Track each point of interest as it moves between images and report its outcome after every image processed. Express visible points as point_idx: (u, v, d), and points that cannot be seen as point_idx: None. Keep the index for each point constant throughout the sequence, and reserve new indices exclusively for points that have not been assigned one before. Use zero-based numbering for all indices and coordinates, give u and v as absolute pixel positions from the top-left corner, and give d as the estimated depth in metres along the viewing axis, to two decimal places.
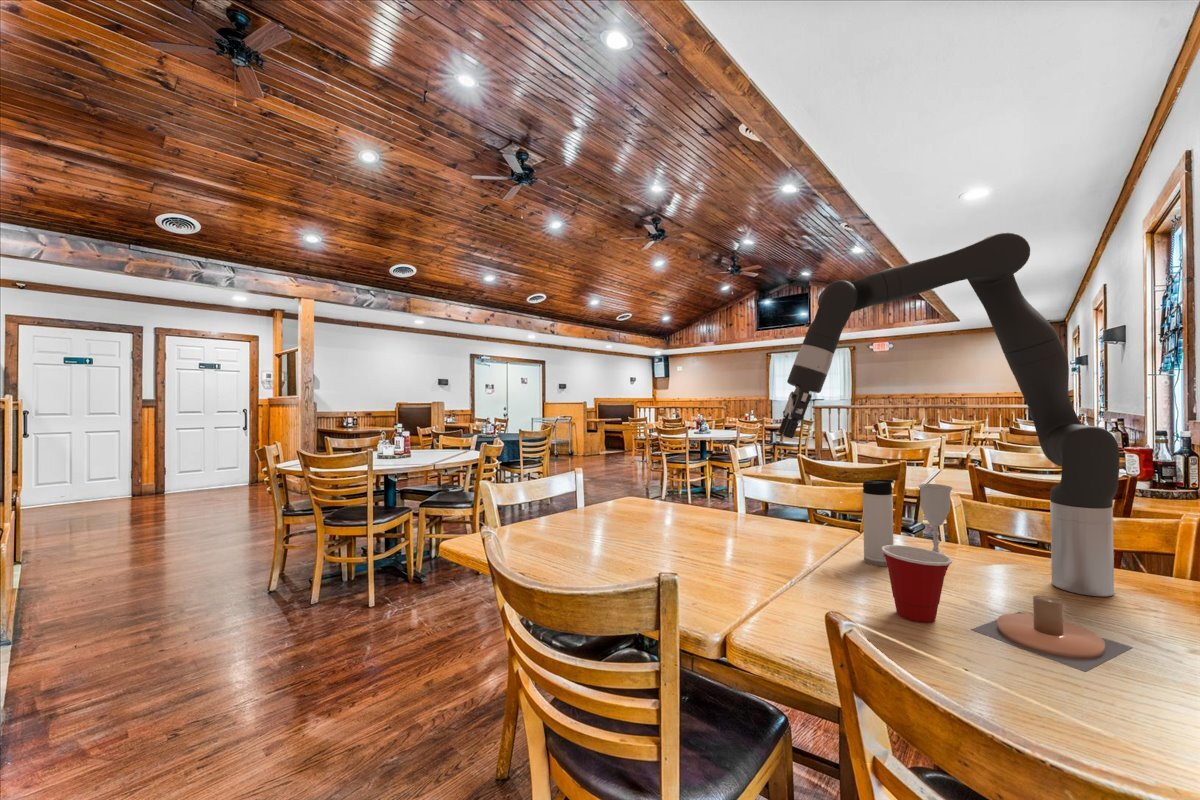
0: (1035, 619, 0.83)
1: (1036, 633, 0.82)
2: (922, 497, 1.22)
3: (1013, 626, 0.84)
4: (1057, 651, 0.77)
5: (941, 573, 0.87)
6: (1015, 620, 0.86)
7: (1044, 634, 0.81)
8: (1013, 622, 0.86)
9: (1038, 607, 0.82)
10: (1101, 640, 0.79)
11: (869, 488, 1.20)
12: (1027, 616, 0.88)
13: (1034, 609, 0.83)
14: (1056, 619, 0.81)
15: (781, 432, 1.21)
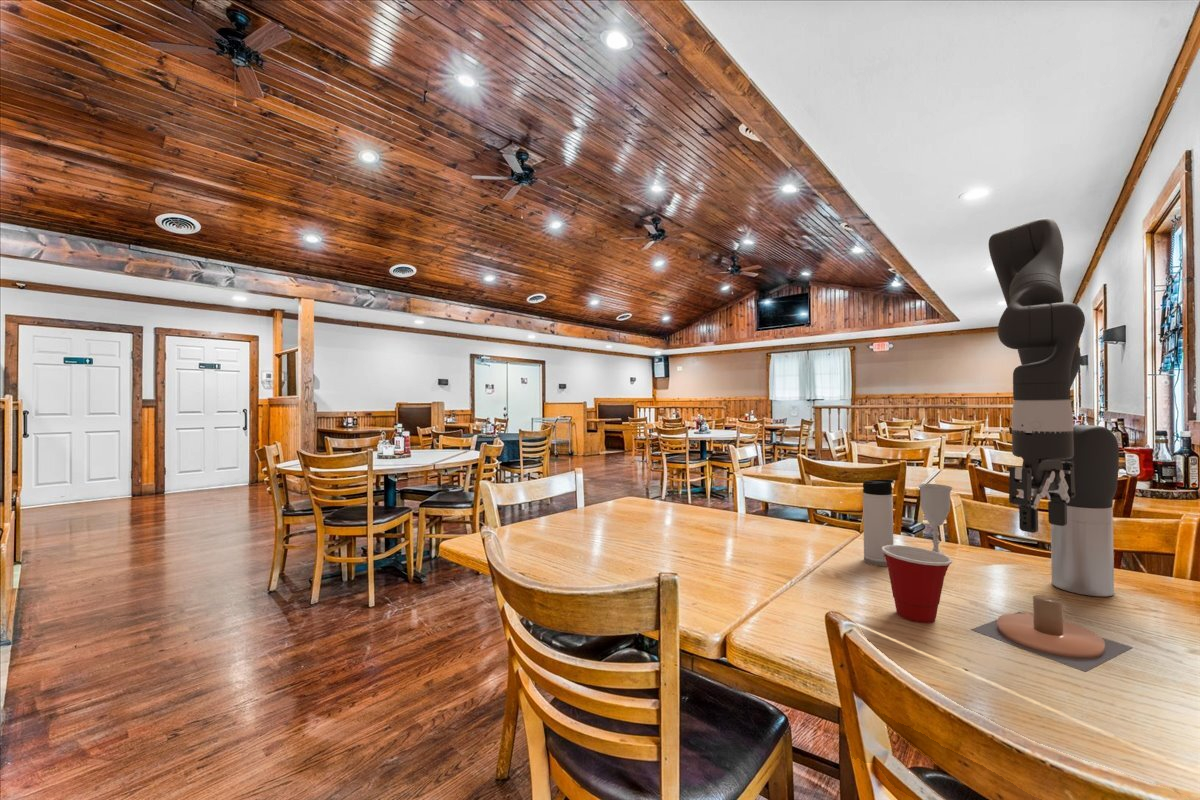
0: (1035, 619, 0.83)
1: (1036, 632, 0.82)
2: (922, 497, 1.22)
3: (1013, 626, 0.84)
4: (1057, 650, 0.77)
5: (941, 573, 0.87)
6: (1015, 620, 0.86)
7: (1044, 634, 0.81)
8: (1013, 622, 0.86)
9: (1038, 607, 0.82)
10: (1101, 640, 0.79)
11: (869, 488, 1.20)
12: (1027, 616, 0.88)
13: (1034, 609, 0.83)
14: (1056, 619, 0.81)
15: None
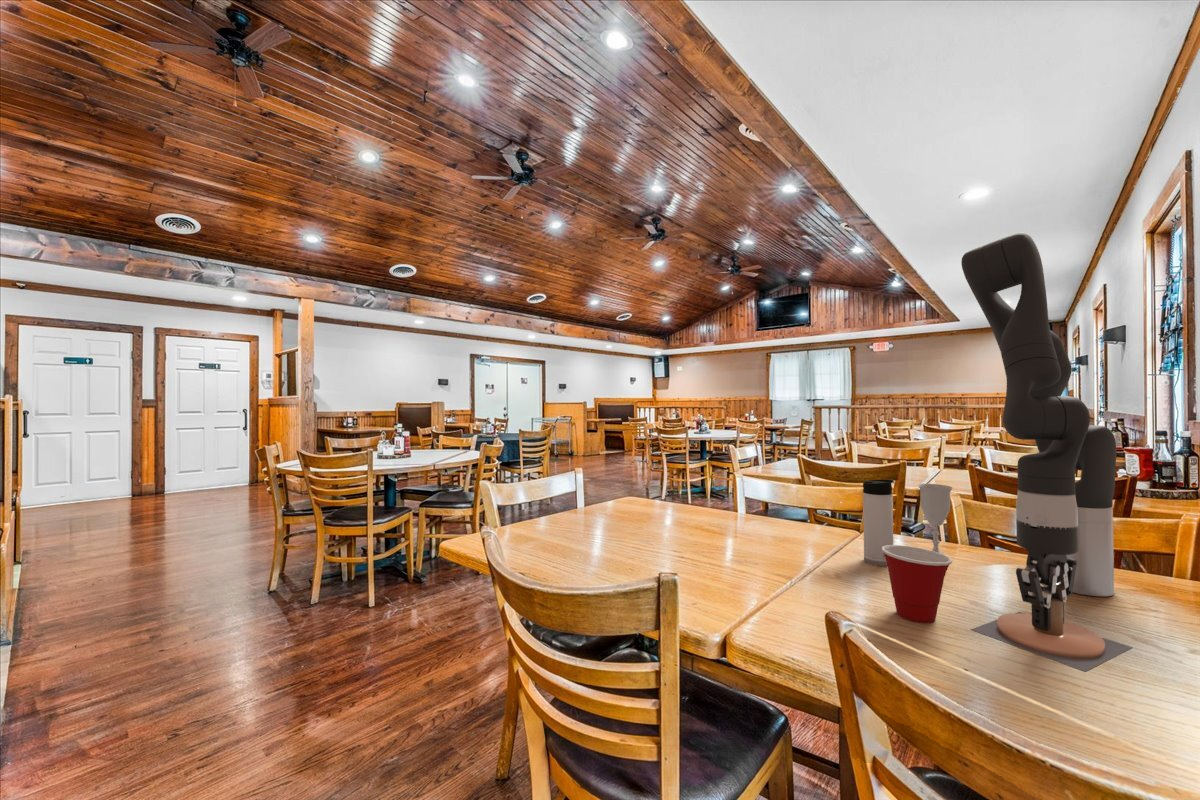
0: None
1: (1037, 632, 0.82)
2: (922, 497, 1.22)
3: (1013, 626, 0.84)
4: (1058, 650, 0.77)
5: (941, 573, 0.87)
6: (1015, 620, 0.86)
7: (1044, 634, 0.81)
8: (1013, 622, 0.86)
9: None
10: (1101, 640, 0.79)
11: (869, 488, 1.20)
12: (1027, 616, 0.88)
13: None
14: (1056, 619, 0.81)
15: None
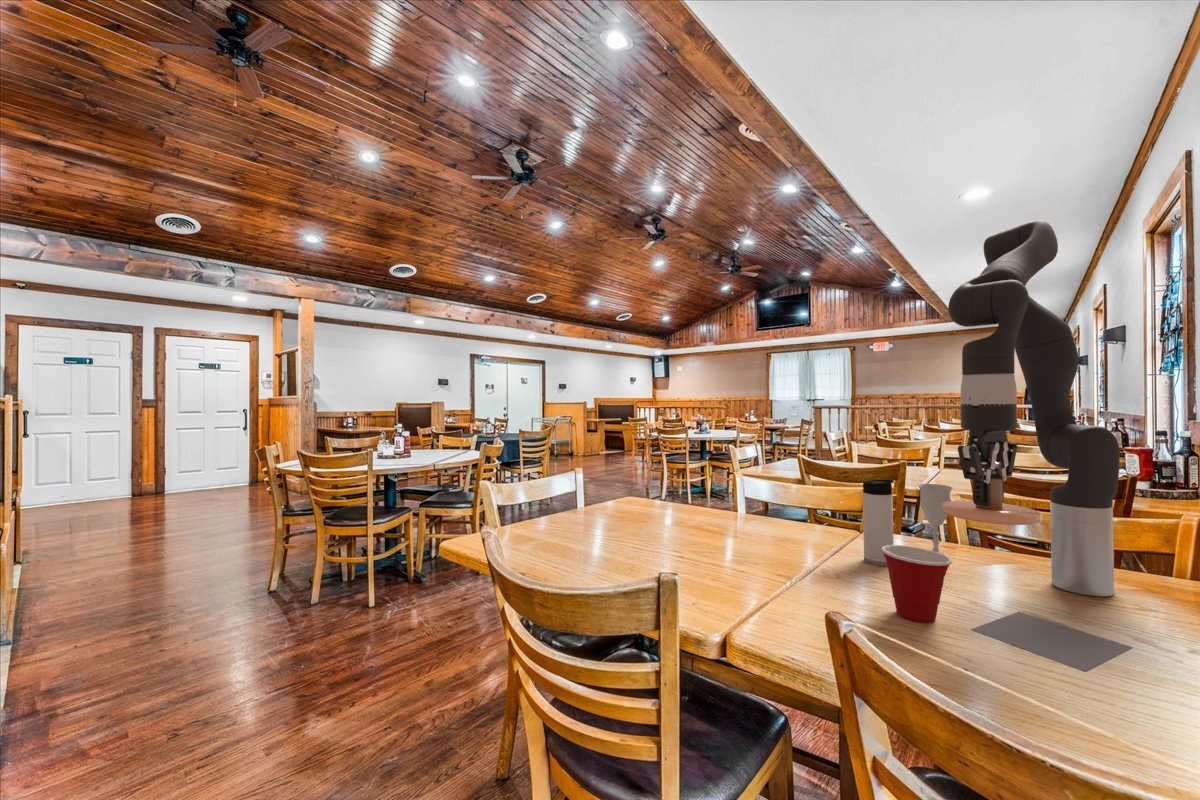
0: None
1: (977, 509, 0.85)
2: (922, 497, 1.22)
3: (956, 506, 0.87)
4: (995, 519, 0.80)
5: (941, 573, 0.87)
6: (959, 503, 0.89)
7: (984, 509, 0.84)
8: (957, 504, 0.89)
9: None
10: (1036, 512, 0.82)
11: (869, 488, 1.20)
12: (971, 501, 0.91)
13: None
14: (996, 495, 0.84)
15: None
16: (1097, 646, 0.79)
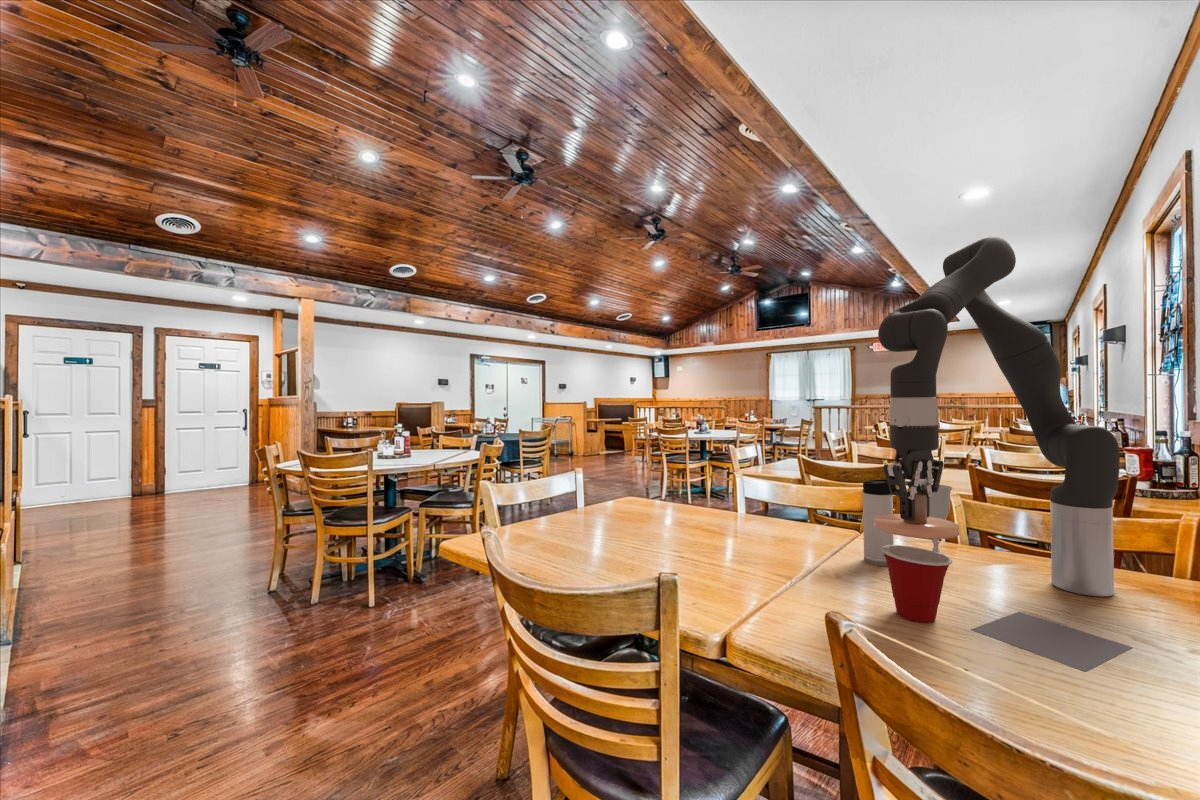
0: None
1: (903, 523, 0.91)
2: None
3: (886, 520, 0.93)
4: (915, 533, 0.86)
5: (941, 573, 0.87)
6: (890, 517, 0.95)
7: (910, 524, 0.90)
8: (888, 518, 0.95)
9: None
10: (956, 526, 0.88)
11: (869, 488, 1.20)
12: None
13: None
14: (920, 510, 0.90)
15: None
16: (1097, 646, 0.79)
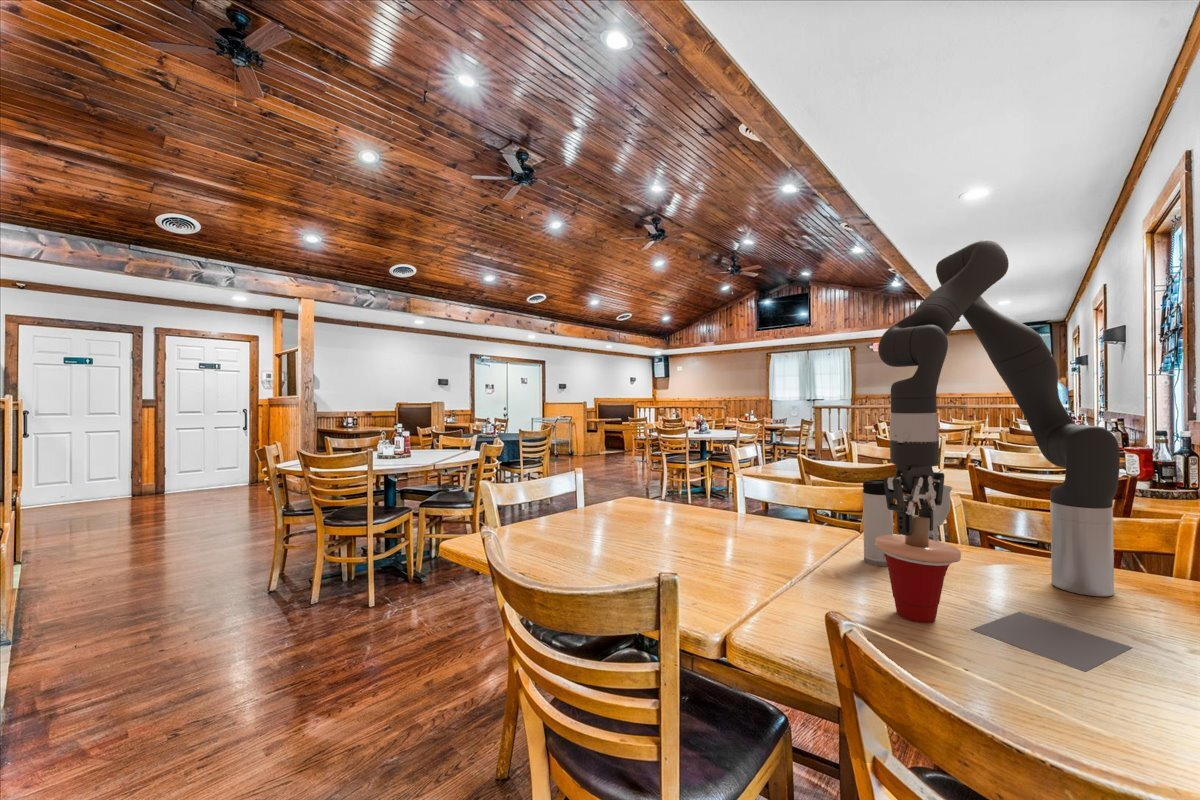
0: None
1: (905, 545, 0.91)
2: None
3: (888, 540, 0.93)
4: (916, 555, 0.86)
5: (941, 573, 0.87)
6: (892, 538, 0.95)
7: (911, 546, 0.90)
8: (890, 539, 0.95)
9: None
10: (958, 551, 0.88)
11: (869, 488, 1.20)
12: (905, 536, 0.97)
13: None
14: (922, 533, 0.90)
15: None
16: (1097, 646, 0.79)
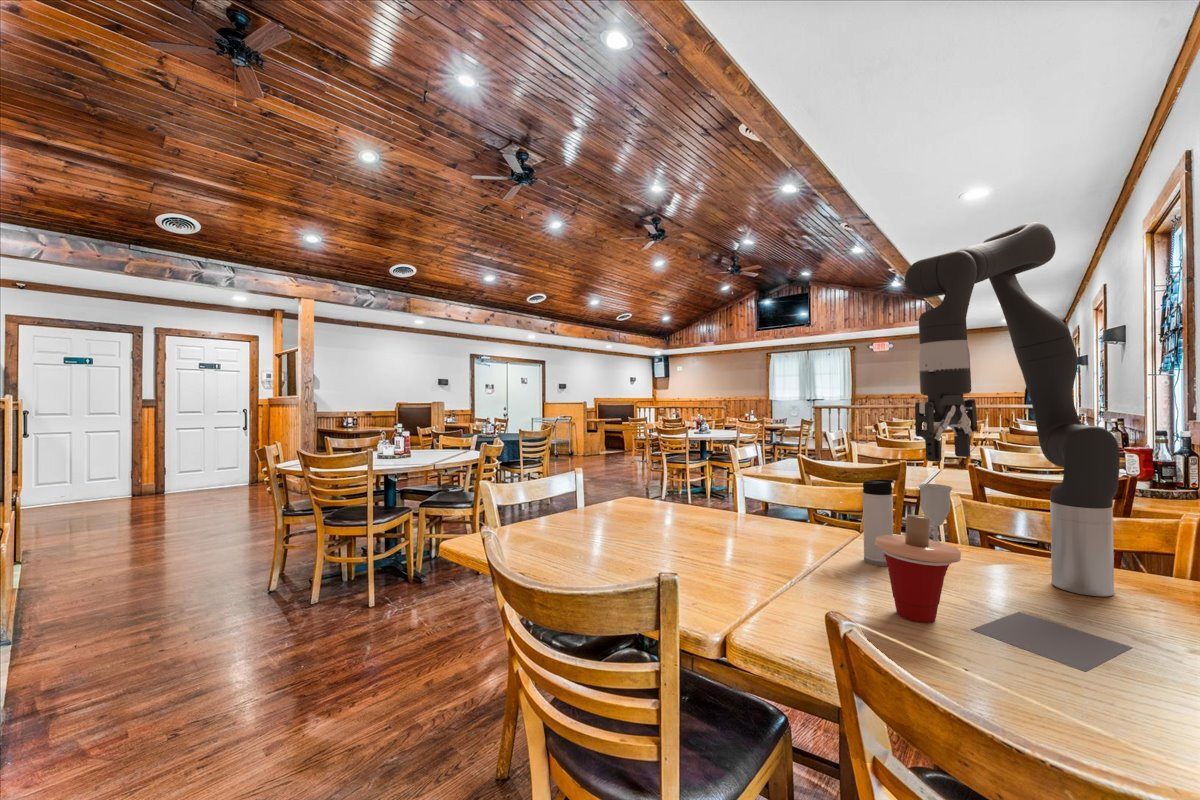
0: (906, 533, 0.92)
1: (905, 545, 0.91)
2: (922, 497, 1.22)
3: (888, 540, 0.93)
4: (917, 555, 0.86)
5: (941, 573, 0.87)
6: (892, 538, 0.95)
7: (911, 546, 0.90)
8: (890, 538, 0.95)
9: (909, 522, 0.91)
10: (958, 552, 0.88)
11: (869, 488, 1.20)
12: (905, 537, 0.97)
13: (906, 525, 0.92)
14: (922, 533, 0.90)
15: None
16: (1097, 646, 0.79)
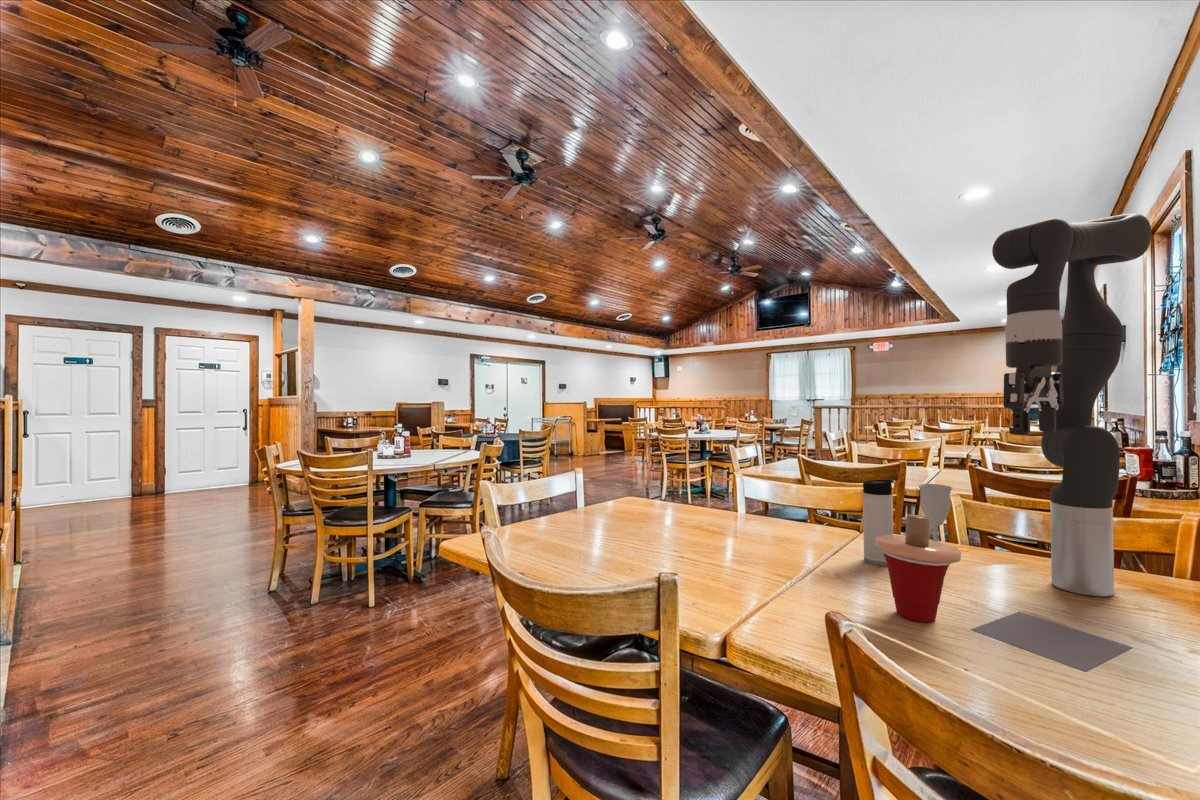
0: (906, 533, 0.92)
1: (905, 545, 0.91)
2: (922, 497, 1.22)
3: (888, 540, 0.93)
4: (917, 555, 0.86)
5: (941, 573, 0.87)
6: (892, 538, 0.95)
7: (911, 546, 0.90)
8: (890, 538, 0.95)
9: (909, 522, 0.91)
10: (958, 552, 0.88)
11: (869, 488, 1.20)
12: (905, 537, 0.97)
13: (906, 525, 0.92)
14: (922, 533, 0.90)
15: None
16: (1097, 646, 0.79)
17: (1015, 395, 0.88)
